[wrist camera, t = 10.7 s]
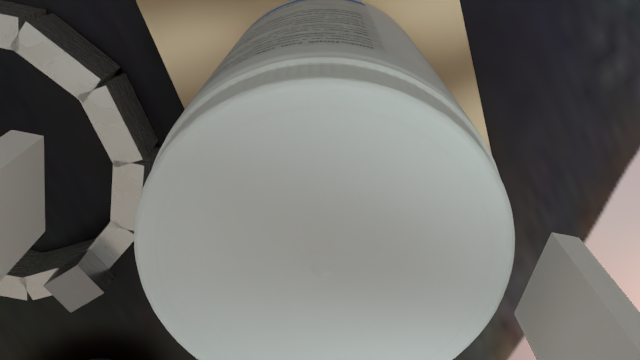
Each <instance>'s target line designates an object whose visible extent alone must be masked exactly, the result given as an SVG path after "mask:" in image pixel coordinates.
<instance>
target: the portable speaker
mask: <svg viewBox="0 0 640 360" xmlns="http://www.w3.org/2000/svg"><path fill="white" fill-rule="evenodd" d="M89 360H112V359H107V358H95V359H89Z"/></svg>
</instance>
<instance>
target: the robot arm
mask: <svg viewBox="0 0 640 360" xmlns="http://www.w3.org/2000/svg"><path fill="white" fill-rule="evenodd" d="M44 232H45V185H44V136H41V135H36V134H31V133H26V132H20V131H15V130H10V131H9V132H7V133H6V134H4V135H3V136H1V137H0V281H1V280H2V279H3V278H4V276H5V275H6V274H7V273H8V272H9V271H10V270H11V269H12V268H13V266H14V265H15V264H16V263H17V262H18V261H19V260H20V259H21V258H22V256H23V255H24V254H25V253H26V252H27V251H28V250H29V249H30V248H31V246H32V245H33V244H34V243H35V242H36V241H37V240H38V239H39V238H40V236H41V235H42V234H43V233H44ZM514 314H515V316H516V318H517V320H518V322H519V324H520V326H521V328H522V331H523V333H524V335H525V337H526V339H527V341H528V343H529V345H530V347H531V349H532V351H533V353H534V355H535V357H536V359H537V360H640V312H639V311H638V310H637V308H636V307H635V306H634V305H633V304H632V302H631V301H630V300H629V299H628V297H627V296H626V295H625V294H624V292H623V291H622V290H621V289H620V288H619V286H618V285H617V284H616V283H615V281H614V280H613V279H612V278H611V277H610V275H609V274H608V273H607V272H606V270H605V269H604V268H603V267H602V265H601V264H600V263H599V262H598V261H597V259H596V258H595V257H594V256H593V254H592V253H591V252H590V251H589V250H588V248H587V247H586V246H585V245H584V243H583V242H582V241H581V240H580V238H578V237H573V236H568V235H563V234H557V233H551V235H550V237H549V239H548V241H547V243H546V246H545V248H544V250H543V252H542V254H541V256H540V259H539V261H538V263H537V265H536V267H535V269H534V272H533V274H532V276H531V278H530V280H529V282H528V284H527V287H526V289H525V291H524V293H523V295H522V297H521V300H520V302H519V304H518V306H517V308H516V310H515V313H514Z"/></svg>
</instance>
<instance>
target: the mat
mask: <svg viewBox="0 0 640 360" xmlns="http://www.w3.org/2000/svg"><path fill="white" fill-rule="evenodd" d="M288 1H291V0H136V2H137V4H138V6H139V9H140V11H141V13H142V15H143V18H144V20H145V22H146V24H147V27H148V29H149V31H150V33H151V35H152V38H153V40H154V42H155V44H156V47H157V49H158V51H159V53H160V56H161V58H162V60H163V62H164V64H165V67H166V69H167V71H168V73H169V76H170V78H171V80H172V82H173V85H174V87H175V89H176V91H177V93H178V96H179V98H180V100H181V102H182V105H183V107H184V109H186V107H187V106H188V105H189V103H190V102H191V101H192V100H193V98H194V97H195V96H196V95H197V93H198V92H199V91H200V89H201V88H202V87H203V85H204V84H205V83H206V82H207V80H208V79H209V78H210V76H211V75H212V74H213V73H214V71H215V70H216V69H217V67H218V66H219V65H220V63H221V62H222V61H223V60H224V58H225V57H226V56H227V54H228V53H229V52H230V51H231V49H232V48H233V47H234V46H235V44H236V43H237V42H238V41H239V39H240V38H241V37H242V35H243V34H244V33H245V32H246V31H247V30H248V28H249V27H250V26H251V25H252V24H253V23H254V22H255V21H256V20H258V19H259V18H260V17H261V16H263V15H264V14H265V13H267V12H268V11H270V10H272V9H273V8H275V7H277V6H279V5H281V4H283V3H285V2H288ZM359 1H363V2H365V3H367V4H369V5H372V6H374V7H376V8H377V9H379V10H381V11H383V12H384V13H385V14H387V15H388V16H390V17H391V18H392V19H393V20H394V21H395V22H396V23H397V24H398V25H399V26H400V27H401V28H402V29H403V30H404V31H405V32H406V34H407V35H408V36H409V37H410V38H411V40H412V41H413V43H414V44H415V45H416V47H417V48H418V49H419V50H420V52H421V53H422V54H423V56H424V57H425V58H426V60H427V61H428V63H429V64H430V65H431V67H432V68H433V69H434V71H435V72H436V73H437V75H438V76H439V77H440V79H441V80H442V82H443V83H444V84H445V86H446V87H447V88H448V90H449V91H450V92H451V94H452V95H453V96H454V98H455V99H456V100H457V102H458V103H459V105H460V106H461V108H462V109H463V110H464V112H465V113H466V115H467V116H468V118H469V119H470V120H471V122H472V123H473V125H474V126H475V128H476V129H477V131H478V132H479V133H480V135H481V136H482V138H483V139H484V141H485V143H486V145H487V147H488V149H489V151H490V152H491V149H490V144H489V139H488V135H487V130H486V125H485V120H484V115H483V111H482V106H481V101H480V96H479V91H478V87H477V82H476V77H475V72H474V67H473V63H472V58H471V53H470V48H469V43H468V39H467V34H466V29H465V24H464V19H463V15H462V10H461V5H460V0H359ZM491 155H492V154H491Z"/></svg>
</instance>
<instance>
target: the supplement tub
mask: <svg viewBox="0 0 640 360" xmlns="http://www.w3.org/2000/svg"><path fill="white" fill-rule="evenodd" d="M514 248H515V231H514V223H513V215H512V210H511V206H510V202H509V199H508V196H507V193H506V190H505V187H504V185H503V183H502V181H501V179H500V176H499V172H498V169H497V166H496V163H495V161H494V159H493V157H492V155H491V152H490V151H489V149H488V147H487V145H486V143H485V141H484V139H483V138H482V136H481V135H480V133H479V132H478V131H477V129H476V128H475V126H474V125H473V123H472V122H471V120H470V119H469V118H468V116H467V115H466V113H465V112H464V110H463V109H462V108H461V106H460V105H459V103H458V102H457V100H456V99H455V98H454V96H453V95H452V94H451V92H450V91H449V90H448V88H447V87H446V86H445V84H444V83H443V82H442V80H441V79H440V77H439V76H438V75H437V73H436V72H435V71H434V69H433V68H432V67H431V65H430V64H429V63H428V61H427V60H426V58H425V57H424V56H423V54H422V53H421V52H420V50H419V49H418V48H417V47H416V45H415V44H414V43H413V41H412V40H411V38H410V37H409V36H408V35H407V34H406V32H405V31H404V30H403V29H402V28H401V27H400V26H399V25H398V24H397V23H396V22H395V21H394V20H393V19H392V18H391V17H390V16H388V15H387V14H385V13H384V12H383V11H381V10H379V9H377V8H376V7H374V6H372V5H369V4H367V3H365V2H363V1H359V0H291V1H288V2H285V3H283V4H281V5H279V6H277V7H275V8H273V9H272V10H270V11H268V12H267V13H265V14H264V15H263V16H261V17H260V18H259V19H258V20H256V21H255V22H254V23H253V24H252V25H251V26H250V27H249V28H248V30H247V31H246V32H245V33H244V34H243V35H242V37H241V38H240V39H239V41H238V42H237V43H236V44H235V46H234V47H233V48H232V49H231V51H230V52H229V53H228V54H227V56H226V57H225V58H224V60H223V61H222V62H221V63H220V65H219V66H218V67H217V69H216V70H215V71H214V73H213V74H212V75H211V76H210V78H209V79H208V80H207V82H206V83H205V84H204V85H203V87H202V88H201V89H200V91H199V92H198V93H197V95H196V96H195V97H194V98H193V100H192V101H191V102H190V103H189V105H188V106H187V107H186V109H185V110H184V112H183V113H182V114H181V116H180V117H179V119H178V120H177V121H176V123H175V124H174V126H173V127H172V129H171V130H170V132H169V133H168V135H167V137H166V139H165V141H164V143H163V145H162V146H161V148H160V150H159V152H158V154H157V156H156V159H155V161H154V164H153V167H152V170H151V172H150V174H149V176H148V177H147V180H146V182H145V185H144V187H143V190H142V192H141V196H140V200H139V203H138V207H137V211H136V215H135V226H134V251H135V259H136V264H137V268H138V273H139V276H140V280H141V284H142V287H143V289H144V292H145V294H146V296H147V298H148V300H149V302H150V304H151V306H152V308H153V310H154V312H155V313H156V315H157V317H158V318H159V319H160V321H161V322H162V324H163V325H164V326H165V328H166V329H167V330H168V332H169V333H170V334H171V335H172V336H173V337H174V338H175V339H176V341H177V342H178V343H179V344H180V345H182V346H183V347H184V348H185V349H186V350H187V351H188V352H189V353H191V354H192V355H193V356H194V357H195V358H196V359H198V360H453V359H454V358H455V357H456V356H458V355H459V354H460V353H461V352H462V351H463V350H464V349H465V348H467V347H468V346H469V345H470V344H471V343H472V342H473V340H474V339H475V338H476V337H477V336H478V335H479V334H480V333H481V331H482V330H483V329H484V328H485V326H486V325H487V324H488V322H489V321H490V319H491V318H492V316H493V315H494V313H495V311H496V310H497V308H498V306H499V303H500V301H501V299H502V297H503V295H504V292H505V290H506V287H507V284H508V281H509V278H510V274H511V271H512V265H513V259H514Z"/></svg>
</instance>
